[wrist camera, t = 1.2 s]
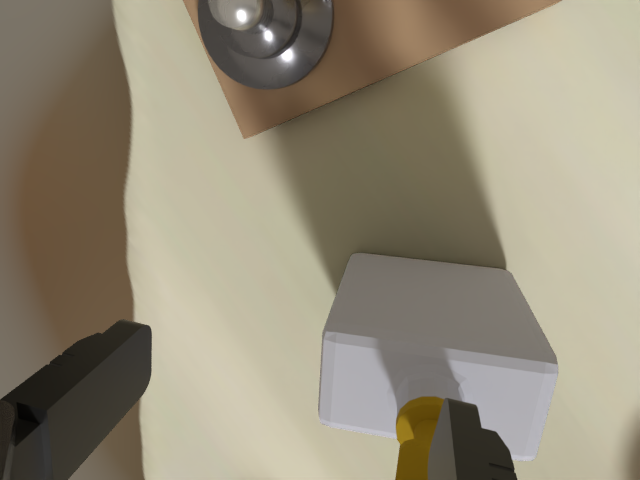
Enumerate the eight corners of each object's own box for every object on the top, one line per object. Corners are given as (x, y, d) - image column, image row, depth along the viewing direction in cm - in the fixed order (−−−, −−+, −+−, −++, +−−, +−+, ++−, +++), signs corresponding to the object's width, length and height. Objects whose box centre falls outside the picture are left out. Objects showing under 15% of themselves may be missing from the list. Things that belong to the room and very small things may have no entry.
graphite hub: (301, -90, 28) (271, -139, 21) (354, 56, 30) (340, 48, 24) (182, -20, 30) (124, -47, 24) (238, 109, 32) (198, 115, 26)
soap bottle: (512, 266, 34) (697, 596, 12) (496, 343, 36) (628, 741, 14) (350, 248, 36) (254, 502, 14) (345, 322, 38) (254, 641, 16)
